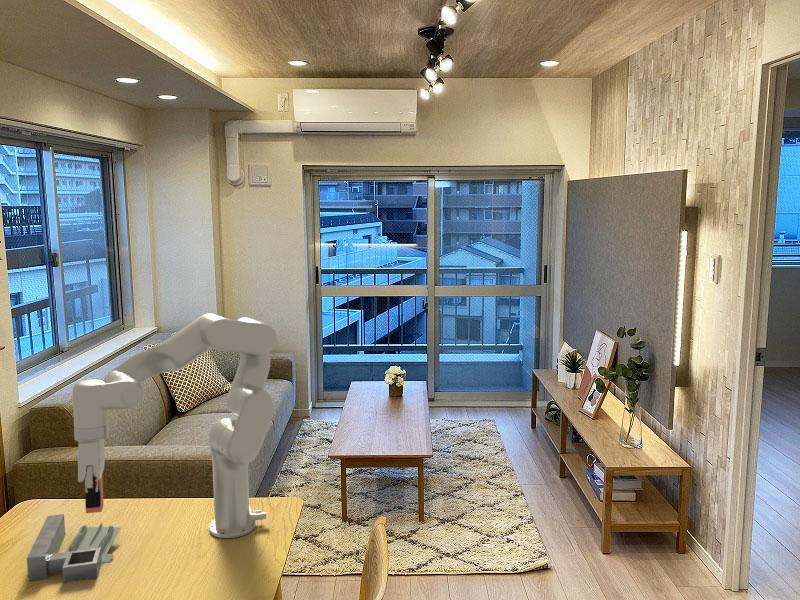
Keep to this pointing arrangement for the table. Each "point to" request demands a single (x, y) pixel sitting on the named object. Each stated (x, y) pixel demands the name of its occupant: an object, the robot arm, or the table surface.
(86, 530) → the metal bracket
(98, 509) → the red rectangular block
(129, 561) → the table surface
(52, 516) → the grey socket fixture
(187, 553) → the table surface
